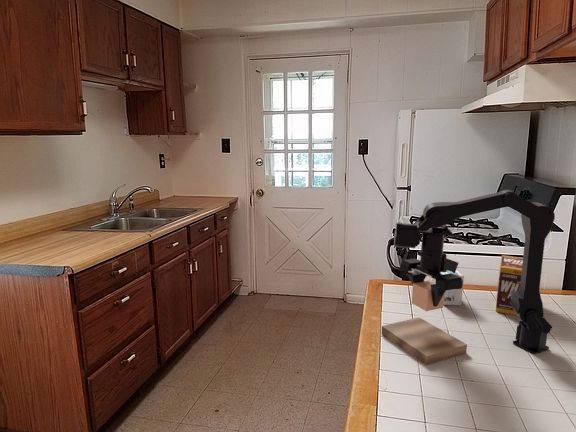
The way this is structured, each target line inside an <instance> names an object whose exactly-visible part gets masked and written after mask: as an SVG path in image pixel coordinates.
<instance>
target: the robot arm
mask: <svg viewBox="0 0 576 432" xmlns="http://www.w3.org/2000/svg"><path fill="white" fill-rule="evenodd" d="M503 208H510V209H512V210H514V211H516V212H517V213H520V217H521V225H522V229H523V231H524V245H523V255H522V258H523V264H522V274H521V284H520V287H519V289H518V290H517V291H511V295H512V299H511V301H510V304H511V306H512V308H513V310H514V311H515V313H516V314H517V315H518V316H517V315H516V316H517V317H518V319H520V321H519V322H518V325H516V331H515V332H516V333H515V340H513V341H512V344H513V345H516V346H517V347H520V348H522V349H523V350H525V351H527V352H530V353H531V354H538V353H542V352H544V351H548V350H550V346H548V345H547V339H548V334H550V332H551V331H552V329H553V326H552V325H551V323H550V322H549V321H548V320H547V319H546V318H545V317H544V304H543V300H542V296H541V293H540V289H541V278H542V270H543V259H544V251H545V250H544V249H545V244H546V239H547V237H548V236H549V234H550V232H551V231H552V228H553V224H554V222H555V218H556V216H555V212H554V211H553V209H551V207H550V206H547V205H544V204H542V203H540V202H536V201H528V199H525V198H524V197H522V196H520V195H518V194H517V193H516V192H515V191H513V190H510V189H503V190H500V191H499V192H498V191H497V192H494V193H489V194H485V195H481V196H477V197H472V198H468V199H463V200H459V201H453V202H452V201H441V202H440V201H438V202H430V203H428V204H426V205H425V207H424V208H423V210H422V215H421V216H420V217H419V218H418V219H417V220H416V221H415V222H414V223H403V222H396V223H395V231H394V235H393V236H394V237H393V246H394V248H406V249H407V248H409V249H416V247H418V246H419V245H420V244H421V246H420V247H421V248H420V250H418V251H417V253H416V254H417V256H419V259H417V258H409V259H403V260H402V261H401V262H400V270H402V271H404V272H406V274H405V275H406V276H408V279H409V281H410V283H411V285H412V286H413V283H418V282H424V281H425V280H426V278H427V277H429V278H432V279H433V280H434V279H436V282H435V283H436V284H432V285H431V292H432V300H433V305H434V307H436V306H438V304H439V302H440V300H441V298H442V296H443V295H444V293H445V292H446V290H453V289H458V288H462V286H463V287H464V281H463V280H462V278H461V277H459V276H456V275H454V274H452V273H450V274H444V275H442V274H440V273H441V272H447V270H449V271H452V272H453V273H455V272H456V270H457V269H458V267H459V262H458V261H455V260H452V259H450V258H447V257H448V256H447V253H444V245H445V242H444V241H445V236H453V232H452V230H451V229H449V227H448V224H450V223H453V222H454V221H456V220H458V219H460V218H463V217H467V216H472V215H476V214H480V213H486V212H489V211H493V210H494V211H495V210H498V209H503ZM421 234H422V235H421Z"/></svg>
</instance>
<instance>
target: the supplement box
mask: <svg viewBox="0 0 576 432" xmlns="http://www.w3.org/2000/svg"><path fill="white" fill-rule="evenodd" d="M522 264H523V257H519V256H511V255H501V259H500V266H499V273H498V274H499V275H498V282H497V283H498V284H497V292H496V293H497V294H496V301H495V312H497V313H501V314H507V315H512V316H517V317H519V316H518V315H517V314H516V313H515V311H514V310H513V308H512V306H511V304H510V301H511V299H512V295H511V291H517V290H518V289H519V287H520V284H521V274H522Z"/></svg>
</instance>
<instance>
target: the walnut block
mask: <svg viewBox="0 0 576 432" xmlns="http://www.w3.org/2000/svg"><path fill="white" fill-rule="evenodd" d="M381 335H382V336H383V337H385V338H386V339H388V340H389V341H391V342H392V343H394V344H395V345H397V346H398V347H399V348H401V349H402V350H404V351H405V352H407V353H408V354H410V355H411V356H413V357H414V358H415V359H417V360H418V361H419V362H421V363H422V364H424V365H425V366H428V365H431V364H435V363H439V362H441V361H444V360H447V359H452V358H454V357H458V356H461V355H465V354H467V348H468V344H467V343H465V342H464V341H462V340H460V339H458V338H456V337H455V336H453V335H452V334H450V333H448V332H446V331H444V330H442V329H441V328H439V327H437V326H436V325H434V324H432V323H430V322H428V321H427V320H425V319H423V318H421V317H420V316H418V317H414V318H409V319H406V320H402V321H398V322H394V323H390V324H385V325H381Z"/></svg>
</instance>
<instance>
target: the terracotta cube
mask: <svg viewBox="0 0 576 432" xmlns="http://www.w3.org/2000/svg"><path fill="white" fill-rule="evenodd" d="M432 284H436V283H434V281H431V280H424V282H418V283H413V285H412V290H411V291H412V293H411V304H412V305H414V306H416V307H418V308H420V309H422V310H423V311H425V312H430V311H433V310H439V309H443V308H444V305H443V302H444V295H443V296H442V298H441V300H440V302H439V304H438V306H436V307H434V305H433V300H432V292H431V285H432Z"/></svg>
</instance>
